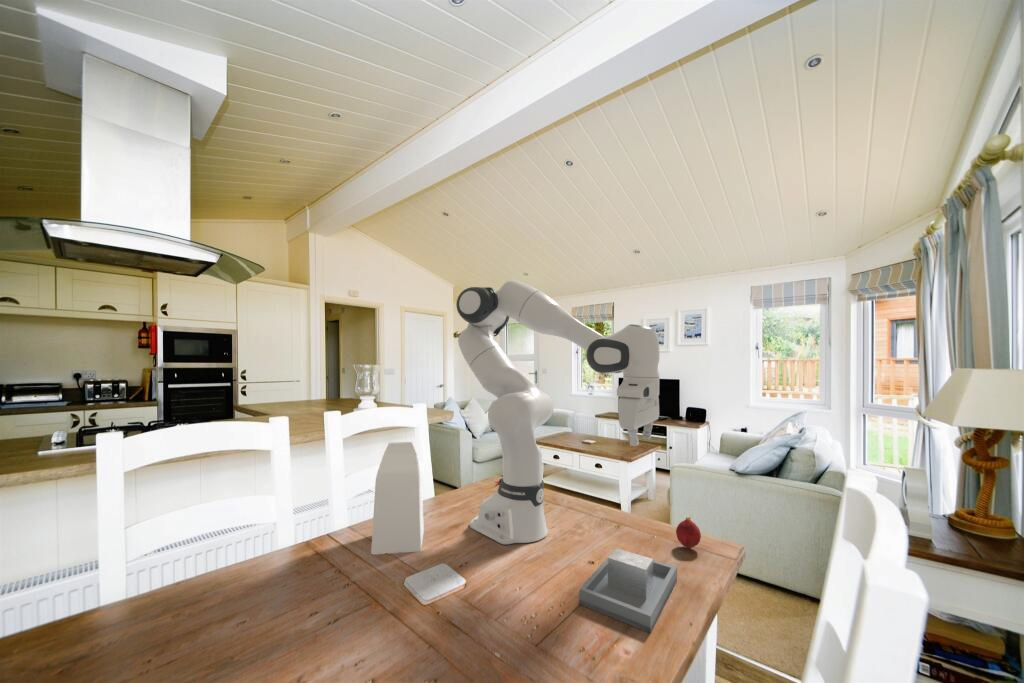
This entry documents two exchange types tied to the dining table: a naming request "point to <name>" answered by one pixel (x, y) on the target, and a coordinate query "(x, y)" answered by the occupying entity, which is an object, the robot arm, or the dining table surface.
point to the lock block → (630, 573)
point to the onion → (688, 533)
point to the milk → (398, 501)
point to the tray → (629, 597)
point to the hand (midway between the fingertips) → (640, 441)
